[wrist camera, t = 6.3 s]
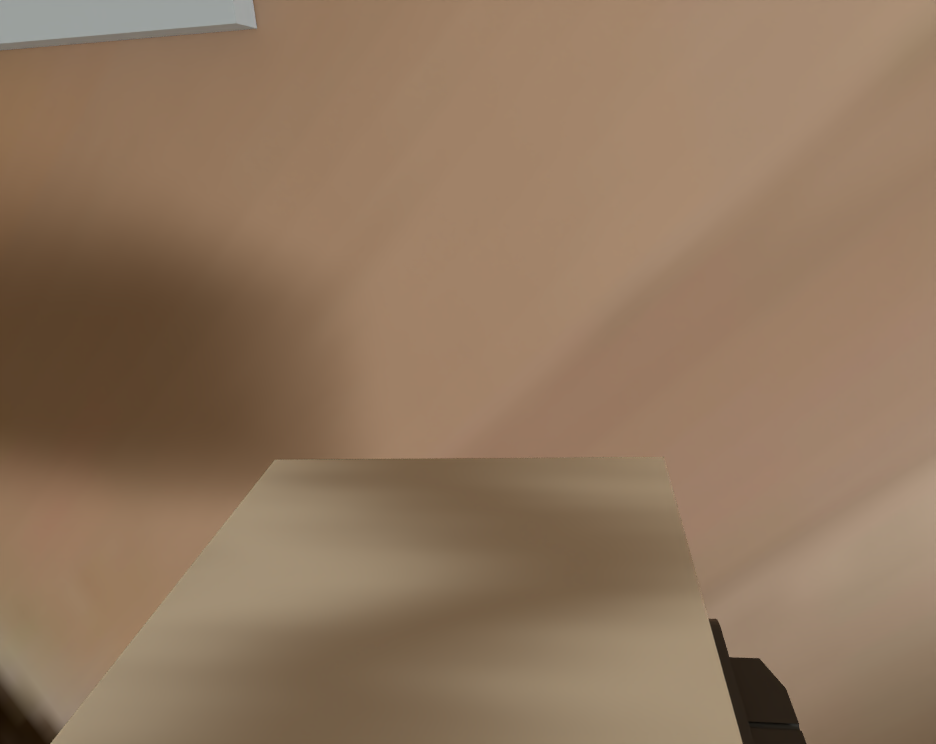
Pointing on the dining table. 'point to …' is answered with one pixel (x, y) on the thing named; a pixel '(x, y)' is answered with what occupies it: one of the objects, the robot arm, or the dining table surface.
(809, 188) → the dining table surface
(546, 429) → the dining table surface
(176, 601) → the maple block
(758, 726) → the robot arm
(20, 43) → the slate board
